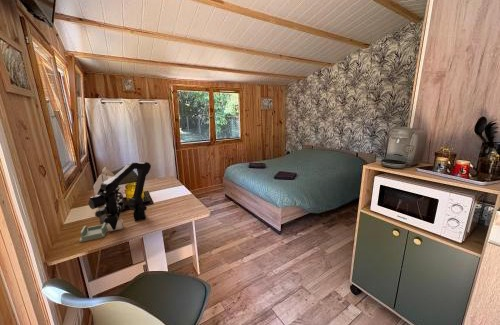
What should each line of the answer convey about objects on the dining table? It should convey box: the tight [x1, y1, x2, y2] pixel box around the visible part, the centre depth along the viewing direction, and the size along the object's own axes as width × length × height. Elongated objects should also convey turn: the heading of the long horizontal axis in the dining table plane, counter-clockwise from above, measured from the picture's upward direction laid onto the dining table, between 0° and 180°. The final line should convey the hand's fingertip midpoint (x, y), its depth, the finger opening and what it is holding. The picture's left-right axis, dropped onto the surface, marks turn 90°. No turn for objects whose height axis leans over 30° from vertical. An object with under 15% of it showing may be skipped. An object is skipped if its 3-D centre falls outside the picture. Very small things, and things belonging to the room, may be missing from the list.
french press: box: [116, 185, 125, 211], centre depth 155 cm, size 12×9×23 cm
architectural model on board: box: [98, 205, 107, 224], centre depth 143 cm, size 11×3×10 cm, turn 27°
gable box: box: [92, 166, 120, 205], centre depth 171 cm, size 22×13×28 cm, turn 27°
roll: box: [107, 218, 124, 232], centre depth 130 cm, size 7×6×6 cm
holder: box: [78, 222, 108, 243], centre depth 126 cm, size 12×13×4 cm
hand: (115, 225), depth 129 cm, fingers open, 9 cm apart
